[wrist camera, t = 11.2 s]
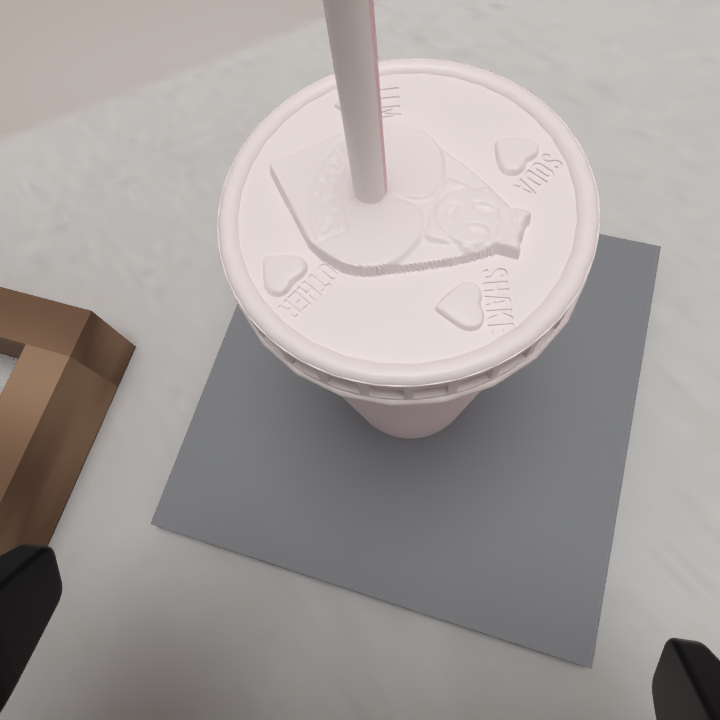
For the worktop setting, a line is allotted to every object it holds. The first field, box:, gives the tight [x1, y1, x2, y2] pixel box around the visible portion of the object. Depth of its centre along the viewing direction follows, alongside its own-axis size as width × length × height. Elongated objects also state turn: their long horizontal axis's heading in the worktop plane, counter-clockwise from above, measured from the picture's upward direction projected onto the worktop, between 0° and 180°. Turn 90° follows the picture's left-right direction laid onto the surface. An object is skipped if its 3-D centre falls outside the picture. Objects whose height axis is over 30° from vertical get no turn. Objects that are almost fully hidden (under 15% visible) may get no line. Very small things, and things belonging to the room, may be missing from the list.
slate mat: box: [151, 234, 661, 669], centre depth 19 cm, size 13×13×1 cm
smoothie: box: [217, 0, 600, 439], centre depth 12 cm, size 6×6×14 cm
